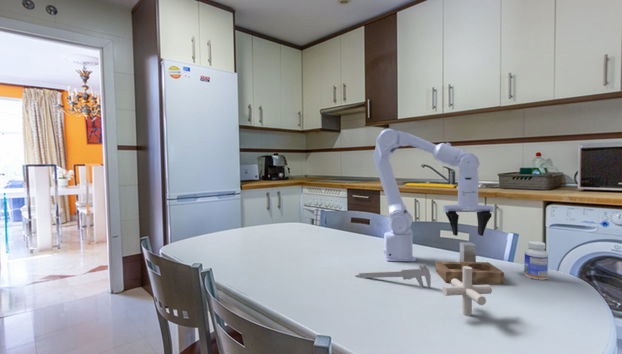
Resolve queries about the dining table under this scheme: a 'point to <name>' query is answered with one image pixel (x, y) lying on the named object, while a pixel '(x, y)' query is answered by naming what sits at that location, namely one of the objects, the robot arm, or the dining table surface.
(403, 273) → the caliper
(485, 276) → the socket block
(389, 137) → the robot arm
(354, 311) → the dining table surface
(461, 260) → the square bit
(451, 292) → the wooden cross jack
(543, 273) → the pill bottle
